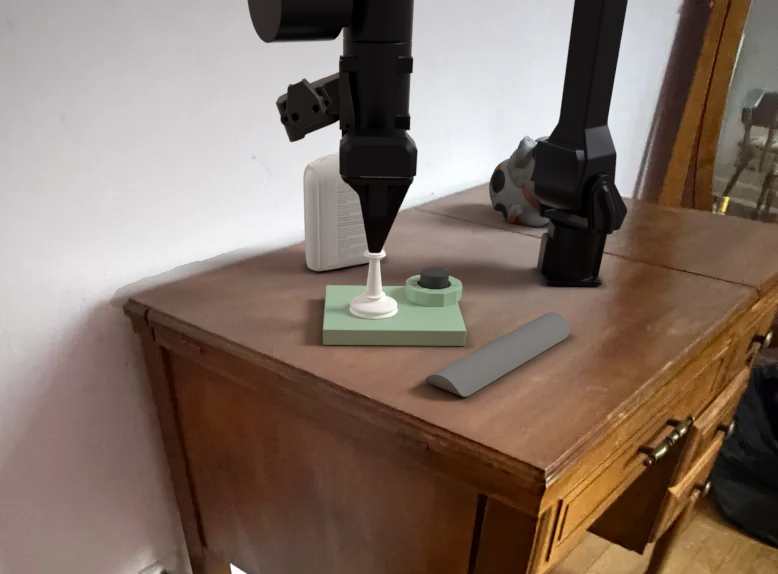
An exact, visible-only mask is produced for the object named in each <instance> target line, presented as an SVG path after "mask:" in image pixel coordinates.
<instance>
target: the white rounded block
mask: <svg viewBox="0 0 778 574" xmlns="http://www.w3.org/2000/svg"><path fill="white" fill-rule="evenodd" d="M302 183H303V185H302V187H303V220H304V221H303V222H304V224H303V225H304V251H305V261H306V266H307V268H308V269H309V270H311V271H314V272H323V271H329V270H330V271H331V270H336V269H341V268H346V267H352V266H353V267H354V266H358V265H359V266H360V265H364V264H369V263H370V258H368V257H365V256H364V253H365V251H366V250H367V249H368V245H367V240H366V234H365V228H364V222H363V217H362V211H361V205H360V200H359V196H358V194H357V193H356V192H355V191H354V190H353V189H352V188H351V187H350V186H349V185H348V184H346V183H345V182H344V181H343V180H342V178H341V175H340V174H339V151H337V152H333V153H329V154H326V155H323V156H321V157H318V158H316V159H315V160H313V161H311V162H309V163H307V165H306V166H305V167H304V171H303V175H302ZM382 250H384V251H385V245H384V246H383V248H382ZM383 258H384V257H383ZM383 258H380V261H382V260H383Z"/></svg>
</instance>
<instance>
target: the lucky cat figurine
mask: <svg viewBox="0 0 778 574" xmlns="http://www.w3.org/2000/svg"><path fill="white" fill-rule="evenodd" d="M549 136H550V135H544V136H540V137H538V138H536V139H533V138H532V137H530V136H529V135H525V136H524V137H523V138H522V139H521V140H520V141H519V143H518V146H517V148H516V149H515V150H514V151H513V152H512V153H511V154H510V156H509V158H506V159H505V160H503V161H501V162H500V163H498V164H497V165H496V167H494V170H493V172H492V174H491V177H490V180H489V184H488V193H489V199H490V201H491V206H492V208H493V210H495V212H500V213H501V214H502V216H503V219H504V221H506V222H507V223H510V224H514V225H521V226H529V227H537V228H541V227H543V226H545V225H546V224H549V219H548V218H542V217H540V216H539V209H538V199H537V197H536V196H535V192H534V182H532V181H530V179H531V176H532V173H533V170H534V165H535V147H536V144H537V142H538V141H547V139H548V138H549Z"/></svg>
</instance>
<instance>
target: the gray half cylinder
mask: <svg viewBox="0 0 778 574" xmlns="http://www.w3.org/2000/svg"><path fill="white" fill-rule="evenodd" d="M570 333H571V327H570V323H569V322H568V320H567V319H566V318H565V316H563V315H562V314H560V313H558V312H553V311H552V312H546V313H544V314H541V315H540V316H538V317H536V318H534V319H533V320H531V321H529V322H527V323H525V324H523V325H521V326H519V327H517V328H516V329H513V330H512V331H510V332H508V333H506V334H504V335H502V336H501V337H499V338H497V339H495V340H493V341H491V342H490V343H488V344H486V345H484V346H482V347H480V348H478V349H477V350H474V351H472V352H471V353H469V354H467V355H465V356H463V357H462V358H460V359H458V360H456V361H454V362H453V363H451V364H448V365H447V366H445V367H443V368H441V369H439V370H437V371H435V372H434V373H431V374H429V375H428V376H427V377H426V378H425V379H424V380H425V382H426V383H428V384H430V385H432V386H435V387H437V388H440V389H442V390H445V391H448V392H450V393H452V394H455V395H457V396H460V397H464V398H465V397H469V396H471V395H472V394H474V393H476V392H478V391H480V390H481V389H482V388H484V387H486V386H488V385H489V384H492V383H493V382H494V381H496V380H497V379H499V378H501V377H503V376H504V375H506V374H508V373H509V372H511V371H513V370H514V369H517V368H518V367H520V366H521V365H523V364H525V363H526V362H528V361H530V360H531V359H533V358H535V357H537V356H538V355H540V354H542V353H543V352H545V351H547V350H548V349H550V348H552V347H553V346H555V345H557V344H559V343H560V342H562V341H564V340H566V339H568V336H569V335H570Z"/></svg>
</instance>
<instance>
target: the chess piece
mask: <svg viewBox="0 0 778 574" xmlns="http://www.w3.org/2000/svg"><path fill="white" fill-rule="evenodd" d="M386 255H387V254H386V251H385V249H384V250H382V251H381V252H380V253H370V252H369V251H368V249H367V250H366V251H365V253H364V256H365V257H368V258H370V263H368V272H367V280H366V285H365V286H366V291H365V292H363V295H360V296H357V297H355V298H354V299H353V300H352V301H351V303H350V312H351V313H352V314H353V315H355V316H358V317H361V318H365V319H384V318H388V317H391V316H393V315H395V314H396V313H397V311H398V309H397V302H396V301H395V300H394V299H393V298H391V297H389V296H386V295H385V293H384V292H383V291H382V286H383V285H382V276H381V275H382V274H381V260H380V258H385V257H386Z"/></svg>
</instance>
